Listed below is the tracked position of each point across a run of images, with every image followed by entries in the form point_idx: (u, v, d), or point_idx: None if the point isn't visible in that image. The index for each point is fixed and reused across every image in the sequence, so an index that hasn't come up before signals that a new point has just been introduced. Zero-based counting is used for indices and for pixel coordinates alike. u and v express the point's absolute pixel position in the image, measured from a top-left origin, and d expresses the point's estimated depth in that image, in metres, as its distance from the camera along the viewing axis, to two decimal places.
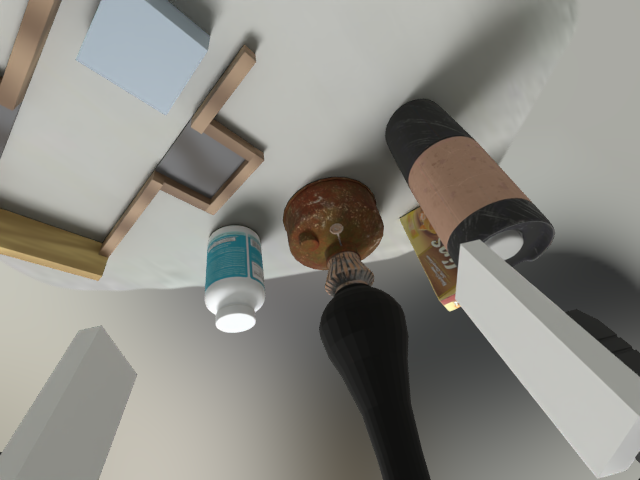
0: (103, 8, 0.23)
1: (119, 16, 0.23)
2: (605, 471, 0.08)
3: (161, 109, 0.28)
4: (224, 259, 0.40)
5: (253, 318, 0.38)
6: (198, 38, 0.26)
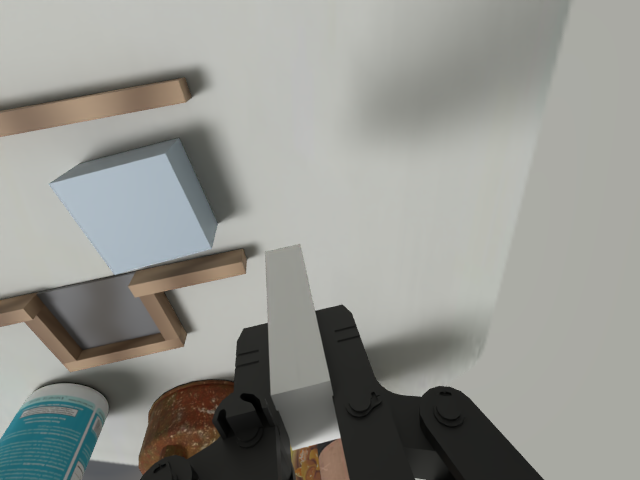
0: (128, 167, 0.19)
1: (141, 181, 0.20)
2: (319, 437, 0.09)
3: (114, 267, 0.22)
4: (40, 447, 0.27)
5: None
6: (208, 231, 0.23)
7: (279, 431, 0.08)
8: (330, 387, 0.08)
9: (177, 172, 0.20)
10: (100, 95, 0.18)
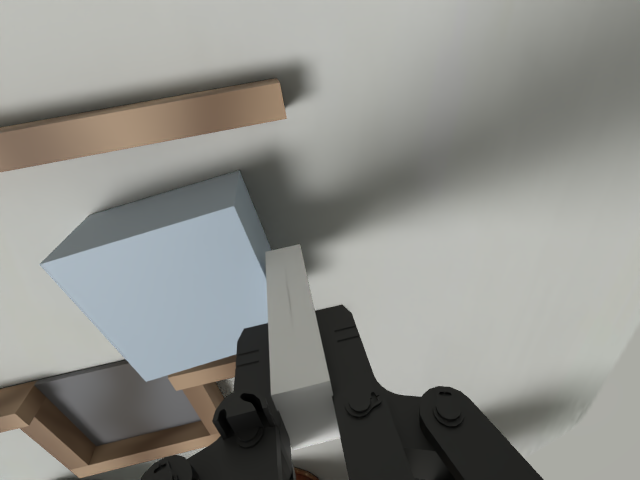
0: (172, 231, 0.11)
1: (193, 251, 0.12)
2: (319, 437, 0.09)
3: (145, 372, 0.15)
4: None
5: None
6: None
7: (279, 431, 0.08)
8: (330, 387, 0.08)
9: (248, 231, 0.12)
10: (149, 107, 0.11)
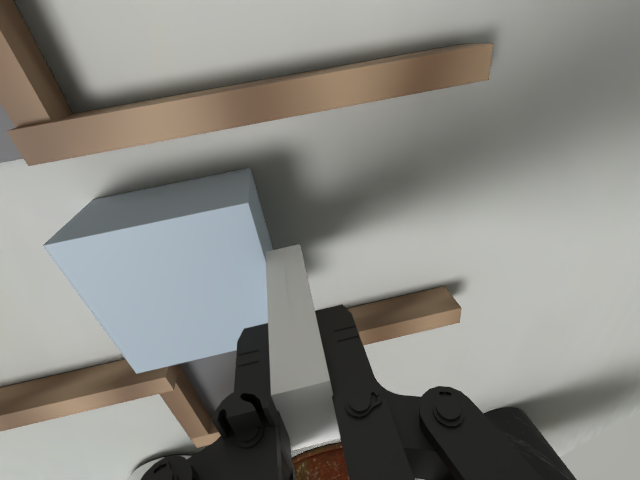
0: (183, 223, 0.11)
1: (201, 245, 0.12)
2: (319, 437, 0.09)
3: (137, 364, 0.14)
4: None
5: None
6: None
7: (279, 431, 0.08)
8: (330, 387, 0.08)
9: (257, 229, 0.12)
10: (373, 66, 0.11)
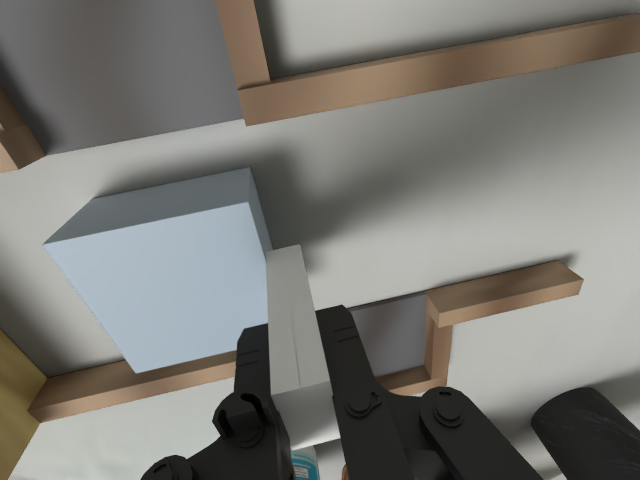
0: (183, 222, 0.11)
1: (201, 244, 0.12)
2: (319, 437, 0.09)
3: (136, 364, 0.14)
4: None
5: None
6: None
7: (279, 431, 0.08)
8: (330, 387, 0.08)
9: (257, 229, 0.12)
10: (572, 30, 0.12)
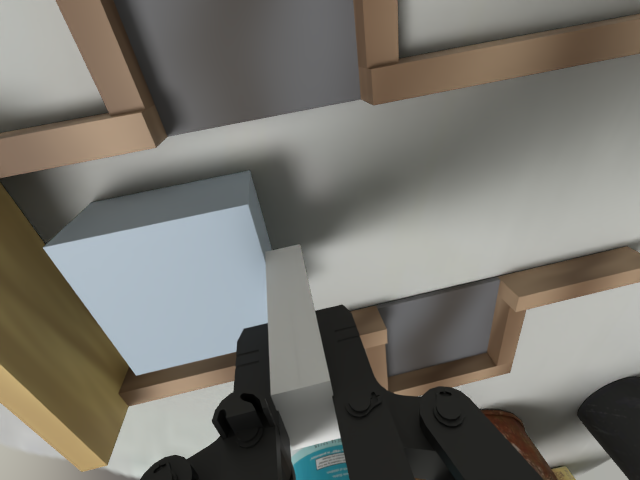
0: (183, 224, 0.11)
1: (201, 246, 0.12)
2: (319, 437, 0.09)
3: (137, 366, 0.14)
4: None
5: None
6: None
7: (279, 431, 0.08)
8: (330, 387, 0.08)
9: (257, 231, 0.12)
10: None
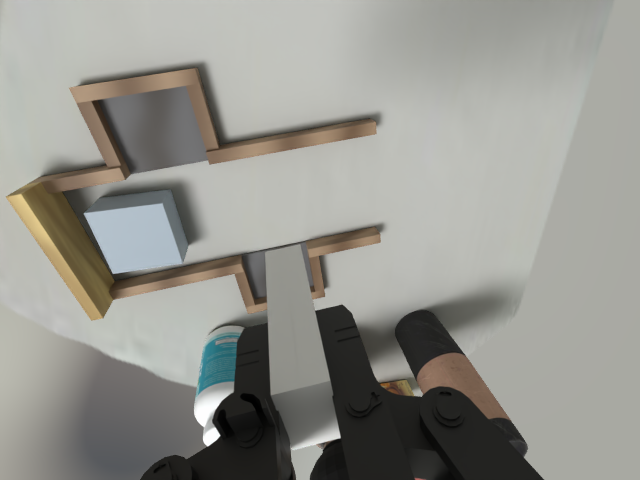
0: (137, 209, 0.31)
1: (144, 217, 0.31)
2: (319, 437, 0.09)
3: (113, 269, 0.33)
4: None
5: None
6: (182, 251, 0.35)
7: (279, 431, 0.08)
8: (330, 387, 0.08)
9: (167, 214, 0.32)
10: (332, 130, 0.32)
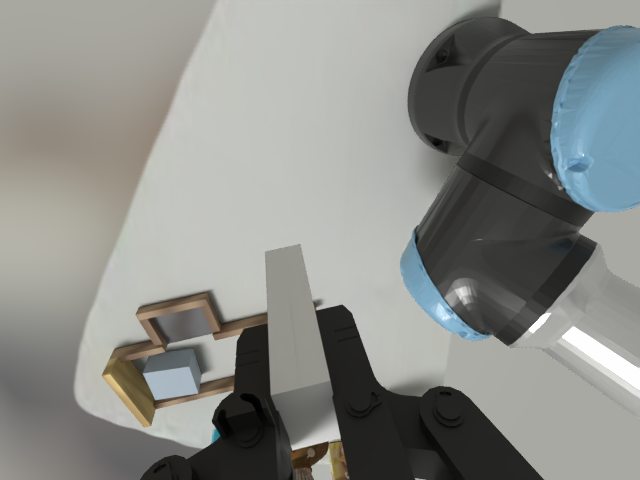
0: (174, 370, 0.52)
1: (177, 373, 0.52)
2: (319, 437, 0.09)
3: (156, 397, 0.54)
4: None
5: None
6: (198, 385, 0.56)
7: (279, 431, 0.08)
8: (330, 387, 0.08)
9: (191, 369, 0.53)
10: None
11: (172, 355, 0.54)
